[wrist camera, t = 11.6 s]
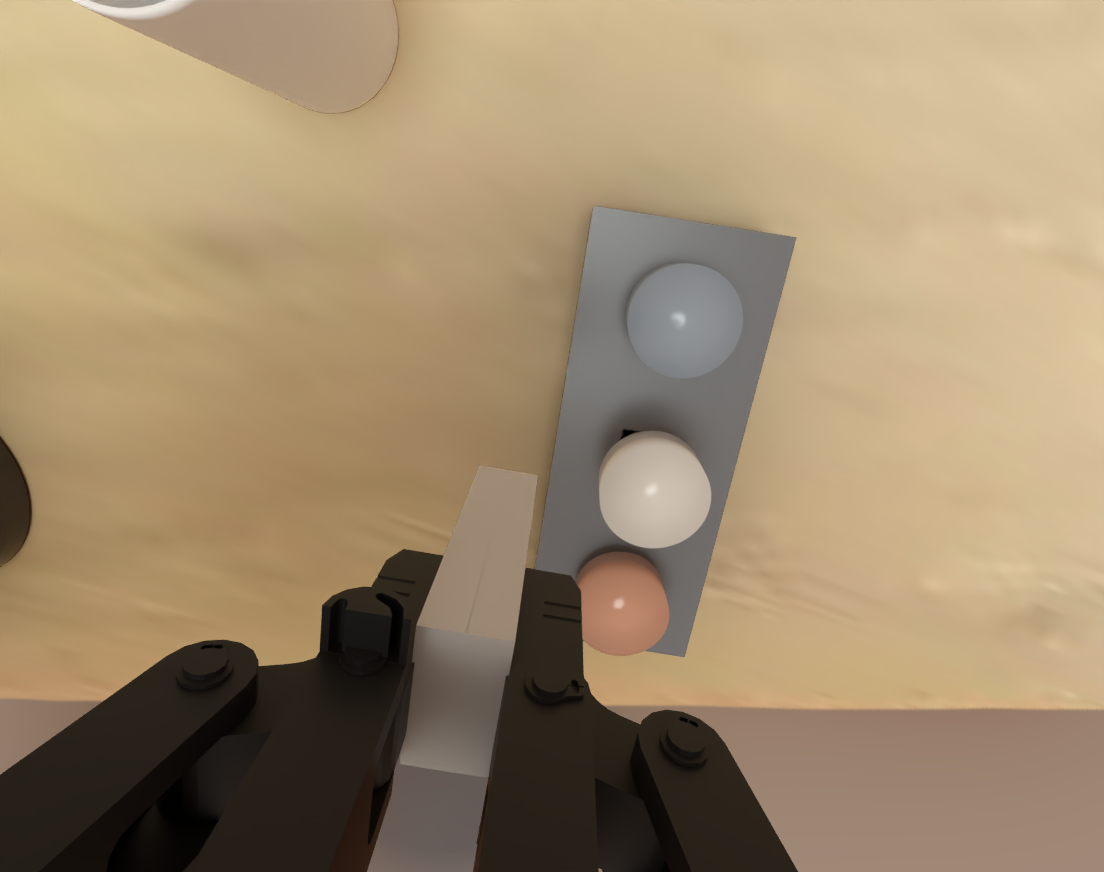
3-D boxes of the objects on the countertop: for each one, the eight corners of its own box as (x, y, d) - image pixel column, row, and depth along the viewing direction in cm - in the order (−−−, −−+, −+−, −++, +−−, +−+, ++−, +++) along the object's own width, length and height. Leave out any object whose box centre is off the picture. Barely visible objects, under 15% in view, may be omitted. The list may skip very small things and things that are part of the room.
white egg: (589, 480, 36) (590, 539, 29) (605, 397, 34) (610, 438, 27) (675, 493, 36) (697, 556, 29) (694, 411, 34) (723, 456, 27)
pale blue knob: (612, 342, 35) (619, 369, 28) (628, 251, 34) (640, 255, 27) (699, 356, 35) (727, 386, 28) (720, 265, 34) (755, 274, 27)
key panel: (533, 579, 43) (525, 631, 37) (592, 210, 35) (593, 205, 29) (671, 601, 43) (684, 657, 37) (762, 236, 35) (796, 237, 29)
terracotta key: (569, 576, 41) (566, 647, 34) (582, 507, 39) (581, 567, 32) (646, 588, 41) (658, 662, 34) (661, 519, 39) (678, 582, 32)
